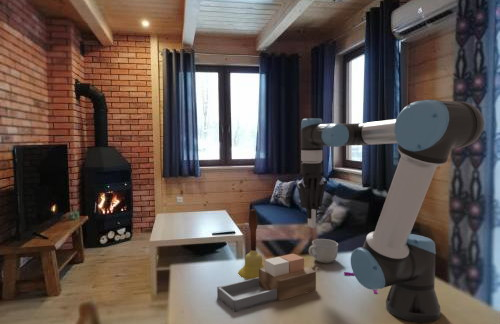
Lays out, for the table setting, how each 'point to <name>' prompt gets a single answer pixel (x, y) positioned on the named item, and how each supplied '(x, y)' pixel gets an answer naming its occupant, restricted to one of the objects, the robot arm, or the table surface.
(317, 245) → the teacup
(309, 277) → the wooden block
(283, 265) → the white square block
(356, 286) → the table surface
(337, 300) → the table surface
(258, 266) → the handbell
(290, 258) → the tile rear
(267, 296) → the tray
